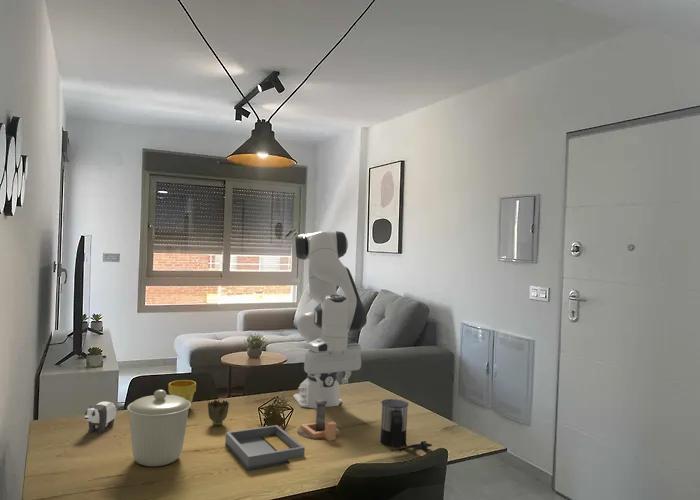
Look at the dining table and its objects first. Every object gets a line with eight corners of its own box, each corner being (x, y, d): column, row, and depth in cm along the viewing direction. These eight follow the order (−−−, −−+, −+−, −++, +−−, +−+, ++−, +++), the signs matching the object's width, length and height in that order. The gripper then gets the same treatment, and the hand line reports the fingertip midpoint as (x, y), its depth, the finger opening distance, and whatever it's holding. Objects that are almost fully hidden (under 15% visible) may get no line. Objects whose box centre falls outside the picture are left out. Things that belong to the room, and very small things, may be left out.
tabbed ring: (300, 428, 191) (301, 413, 191) (326, 425, 196) (326, 409, 196) (318, 442, 179) (319, 425, 179) (345, 438, 184) (345, 422, 184)
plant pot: (161, 410, 209) (162, 384, 209) (177, 402, 219) (178, 378, 219) (185, 413, 206) (186, 388, 206) (200, 406, 216) (201, 381, 216)
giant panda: (102, 422, 192) (103, 396, 192) (116, 424, 191) (118, 397, 191) (77, 437, 177) (78, 408, 177) (93, 439, 177) (94, 409, 177)
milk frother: (374, 442, 186) (376, 399, 185) (416, 438, 191) (418, 396, 191) (392, 458, 172) (394, 412, 172) (436, 454, 178) (438, 409, 177)
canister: (167, 443, 176) (170, 378, 175) (201, 460, 164) (203, 390, 164) (113, 459, 162) (116, 389, 161) (145, 478, 150) (148, 402, 150)
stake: (289, 431, 192) (290, 397, 192) (329, 425, 200) (330, 393, 200) (308, 447, 178) (310, 410, 178) (351, 440, 186) (352, 405, 186)
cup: (230, 422, 199) (231, 400, 199) (224, 429, 191) (225, 406, 191) (211, 420, 199) (212, 399, 199) (203, 427, 192) (204, 404, 192)
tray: (225, 444, 177) (225, 432, 177) (276, 436, 186) (277, 425, 186) (248, 470, 158) (248, 456, 158) (304, 460, 167) (304, 447, 167)
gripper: (356, 340, 190) (354, 380, 190) (302, 343, 180) (301, 385, 180) (365, 343, 185) (363, 384, 185) (311, 347, 174) (309, 390, 174)
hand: (332, 385), depth 182 cm, fingers open, 8 cm apart
